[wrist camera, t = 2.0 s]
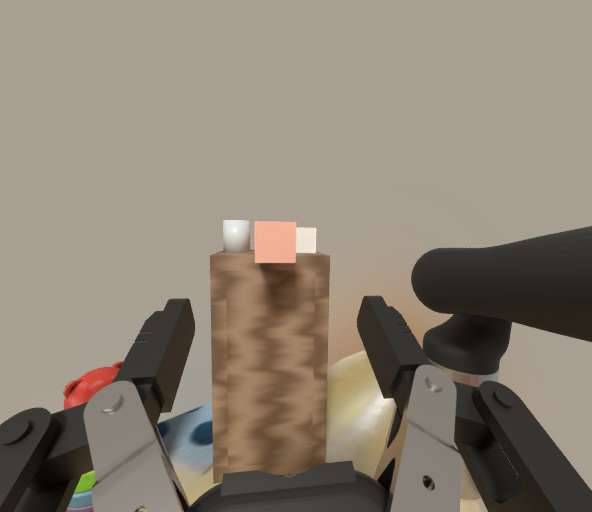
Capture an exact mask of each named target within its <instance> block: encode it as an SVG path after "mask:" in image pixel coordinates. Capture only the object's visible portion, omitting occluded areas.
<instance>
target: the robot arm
mask: <svg viewBox="0 0 592 512" xmlns="http://www.w3.org/2000/svg"><path fill="white" fill-rule="evenodd" d="M411 282H412V287H413V290H414V292H415V294H416V296H417V297H418V299H419V300H420V301H421V302H422V303H423V304H424V305H425V306H426V307H428V308H429V309H431V310H433V311H435V312H439V313H447V314H453V316H452V317H451V318H450V319H449V320H447V321H446V322H445V323H443V324H441V325H439V326H437V327H435V328H432V329H430V330H428V331H427V332H426V333H425V335H424V339H423V350H422V348H421V346H420V345H419V343H418V342H417V340H416V338H415V336H414V335H413V334H412V332H411V330H410V328H409V327H408V326H407V323H406V322H405V320H404V318H403V317H402V315H401V314H400V313H399V312H398V311H397V310H395V309H394V308H393V307H392V306H391V307H388V306H387V305H386V303H385V301H384V300H383V298H382V297H381V296H364V298H363V300H362V304H361V307H360V311H359V314H358V318H357V327H358V331H359V334H360V337H361V339H362V342H363V345H364V347H365V350H366V353H367V355H368V358H369V360H370V363H371V366H372V368H373V371H374V374H375V376H376V379H377V381H378V384H379V387H380V389H381V392H382V395H383V397H384V399H385V398H394V401H395V403H396V406H395V408H394V412H393V416H392V420H391V424H390V428H389V431H388V435H387V439H386V443H385V447H384V450H383V454H382V456H381V459H380V461H379V464H378V466H377V469H376V473H375V476H374V479H372V478H371V477H369V476H367V475H365V474H363V473H361V472H358V471H355V470H354V468H353V464H352V461H346V462H335V463H325V464H320V465H318V466H316V467H314V468H312V469H309V470H307V471H305V472H303V473H301V474H299V475H297V476H294V477H292V478H286V477H282V476H278V475H274V474H270V473H266V472H262V471H257V470H253V471H243V472H233V473H223V479H222V483H221V484H219V485H216V486H215V487H213V488H211V489H210V490H208V491H207V492H206V493H204V494H203V495H202V496H200V497H199V498H198V499H197V500H196V501H195V502H194V503H193V504H192V505H191V506H190V505H189V502H188V500H187V497H186V495H185V493H184V490H183V488H182V486H181V483H180V481H179V479H178V477H177V475H176V472H175V470H174V468H173V465H172V463H171V460H170V458H169V455H168V453H167V450H166V448H165V445H164V443H163V440H162V438H161V435H160V433H159V430H158V428H157V426H156V425H157V422H158V419H159V416H160V413H164V412H171V409H172V406H173V403H174V400H175V396H176V393H177V390H178V387H179V383H180V380H181V377H182V373H183V370H184V367H185V363H186V360H187V357H188V354H189V350H190V347H191V344H192V340H193V337H194V333H195V321H194V317H193V312H192V308H191V304H190V300H189V299H169V300H168V302H167V304H166V306H165V308H164V310H163V311H156V312H155V313H154V314H153V315H151V316H150V317H149V318H148V319H147V320H146V321H145V323H144V325H143V327H142V329H141V330H140V334H138V336H137V338H136V340H135V343H134V344H133V345H132V347H131V349H130V351H129V353H128V355H127V356H126V358H125V360H124V362H123V364H122V366H121V368H120V369H119V371H118V373H117V375H116V377H115V379H114V380H113V382H112V383H111V384H109V385H107V386H105V387H103V388H102V389H101V390H99V391H98V392H97V393H96V394H95V395H94V396H93V397H92V398H91V399H90V400H89V401H88V402H86V403H83V404H80V405H77V406H74V407H71V408H69V409H66V410H63V411H60V412H57V413H54V414H50V412H49V411H48V410H46V409H44V408H32V409H28V410H25V411H22V412H20V413H18V414H16V415H14V416H13V417H11V418H9V419H8V420H6V421H5V422H4V423H2V424H1V425H0V512H66V510H67V508H68V506H69V503H70V501H71V499H72V497H73V494H74V492H75V490H76V487H77V485H78V483H79V481H80V478H81V476H82V475H83V474H86V473H88V472H90V471H93V470H94V473H95V484H94V485H93V486H92V489H91V497H92V504H93V510H94V512H460V497H463V498H467V499H477V498H482V500H483V502H484V504H485V506H486V508H487V510H488V512H592V491H591V489H590V488H589V487H588V486H587V484H586V483H585V482H584V481H583V479H582V478H581V477H580V475H579V474H578V473H577V471H576V470H575V469H574V468H573V466H572V465H571V464H570V462H569V461H568V460H567V458H566V457H565V456H564V455H563V453H562V452H561V451H560V449H559V448H558V447H557V446H556V444H555V443H554V442H553V440H552V439H551V438H550V436H549V435H548V434H547V433H546V431H545V430H544V429H543V427H542V426H541V425H540V423H539V422H538V421H537V420H536V418H535V417H534V416H533V414H532V413H531V412H530V410H529V409H528V408H527V407H526V405H525V404H524V403H523V401H522V400H521V399H520V398H519V397H518V396H517V395H516V394H515V393H514V392H513V391H512V390H511V389H509V388H508V387H506V386H504V385H503V384H500V383H498V370H499V362H500V359H501V357H502V356H503V354H504V353H505V352H506V350H507V347H508V344H509V339H510V332H511V326H512V322H515V323H519V324H523V325H526V326H530V327H533V328H537V329H541V330H545V331H548V332H552V333H556V334H561V335H565V336H569V337H573V338H577V339H581V340H585V341H590V342H592V226H590V227H585V228H580V229H575V230H570V231H565V232H560V233H555V234H550V235H545V236H540V237H536V238H531V239H527V240H522V241H518V242H514V243H510V244H504V245H500V246H494V247H486V248H438V249H434V250H431V251H428V252H427V253H425V254H424V255H423V256H422V257H421V258H419V260H418V261H417V262H416V264H415V266H414V268H413V271H412V276H411ZM500 446H501V447H500ZM501 448H502V449H501ZM503 451H504V452H503ZM504 453H505V454H506V455H505V454H504ZM506 456H507V457H506ZM508 459H509V460H508ZM509 461H510V462H509ZM511 464H512V465H511ZM512 466H513V467H512ZM514 469H515V470H514ZM515 471H516V472H517V473H516V472H515ZM517 474H518V475H517ZM518 476H519V477H518Z"/></svg>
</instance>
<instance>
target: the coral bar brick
mask: <svg viewBox="0 0 592 512" xmlns="http://www.w3.org/2000/svg"><path fill="white" fill-rule="evenodd" d="M255 263H296V222H261V221H255Z"/></svg>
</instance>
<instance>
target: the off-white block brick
mask: <svg viewBox="0 0 592 512" xmlns="http://www.w3.org/2000/svg"><path fill="white" fill-rule="evenodd" d="M296 253H316V228H296Z"/></svg>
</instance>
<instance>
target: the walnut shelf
mask: <svg viewBox="0 0 592 512" xmlns="http://www.w3.org/2000/svg"><path fill="white" fill-rule="evenodd" d="M329 272H330V256H329V255H325V254H322V253H319V252H316V253H296V263H255V250H250V252H243V253H230V252H224V251H221V252H218V253H216V254H213V255H210V276H211V277H210V280H211V347H212V412H213V478H214V483H220V482H222V479H223V473H233V472H243V471H253V470H257V471H262V472H266V473H270V474H274V475H287V474H295V473H303V472H305V471H307V470H309V469H312V468H314V467H316V466H318V465H320V464H325V445H326V402H327V359H328V316H329V274H330V273H329Z"/></svg>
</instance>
